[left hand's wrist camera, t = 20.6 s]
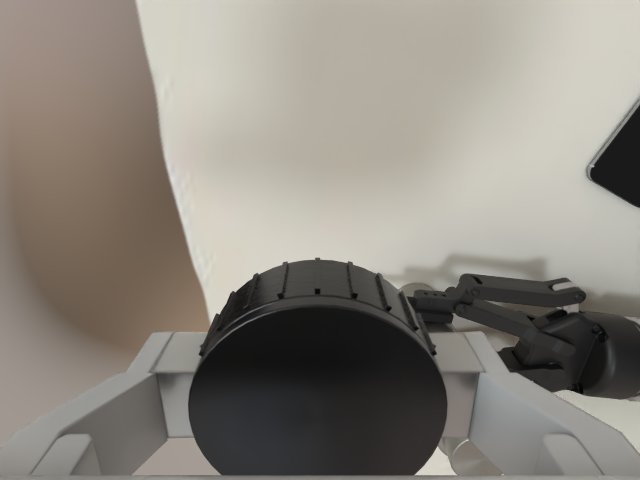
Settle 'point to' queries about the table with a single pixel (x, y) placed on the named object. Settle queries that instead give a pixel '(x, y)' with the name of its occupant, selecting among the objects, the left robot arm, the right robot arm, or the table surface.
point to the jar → (457, 449)
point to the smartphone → (620, 161)
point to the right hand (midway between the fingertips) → (370, 330)
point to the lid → (317, 377)
